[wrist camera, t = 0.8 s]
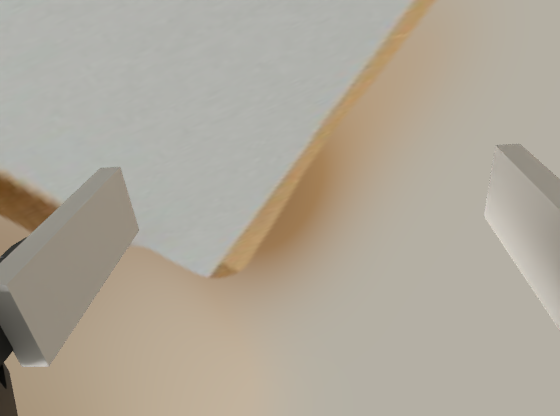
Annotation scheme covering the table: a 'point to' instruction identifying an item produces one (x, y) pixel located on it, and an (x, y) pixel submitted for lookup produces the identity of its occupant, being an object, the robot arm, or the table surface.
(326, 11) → the table surface
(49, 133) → the table surface
